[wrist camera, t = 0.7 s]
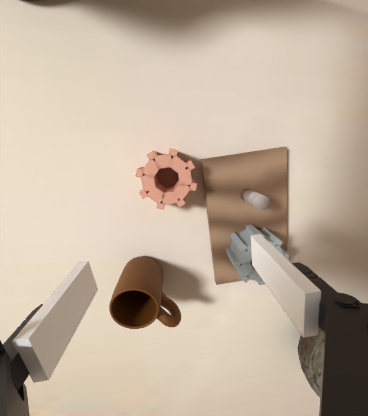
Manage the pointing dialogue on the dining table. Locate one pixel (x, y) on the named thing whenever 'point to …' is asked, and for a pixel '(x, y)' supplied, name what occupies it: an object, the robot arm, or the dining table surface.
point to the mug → (142, 296)
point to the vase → (312, 359)
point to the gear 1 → (160, 192)
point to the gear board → (244, 201)
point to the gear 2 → (249, 252)
